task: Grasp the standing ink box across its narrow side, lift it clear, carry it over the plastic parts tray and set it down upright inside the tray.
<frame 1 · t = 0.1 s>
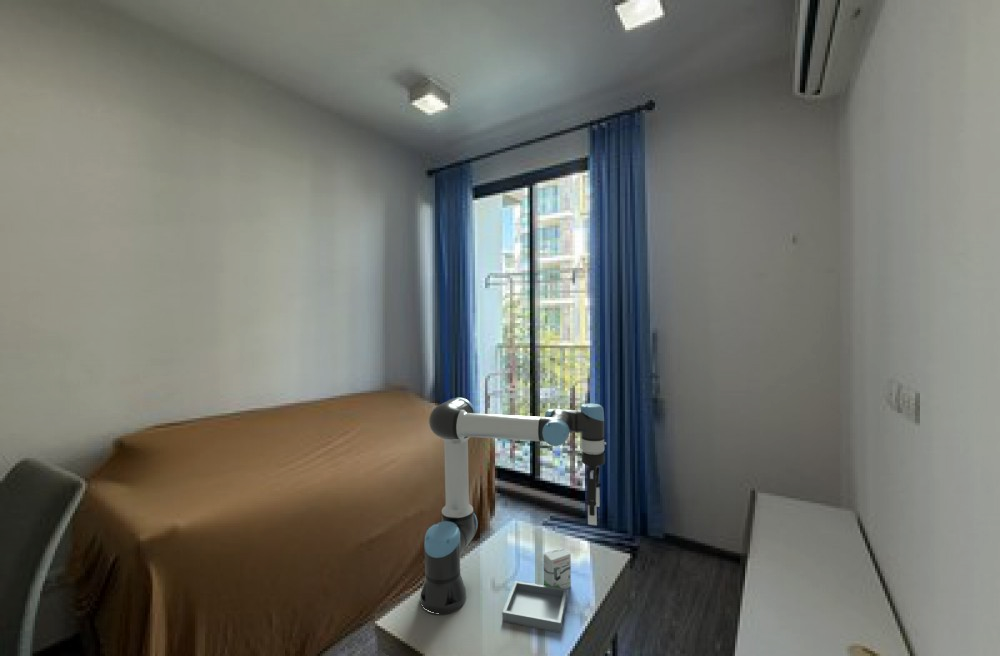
hand: (594, 514, 135), 28 cm above the table, fingers open, 13 cm apart
ink box: (557, 587, 142), on the table
parts tray: (536, 609, 131), on the table
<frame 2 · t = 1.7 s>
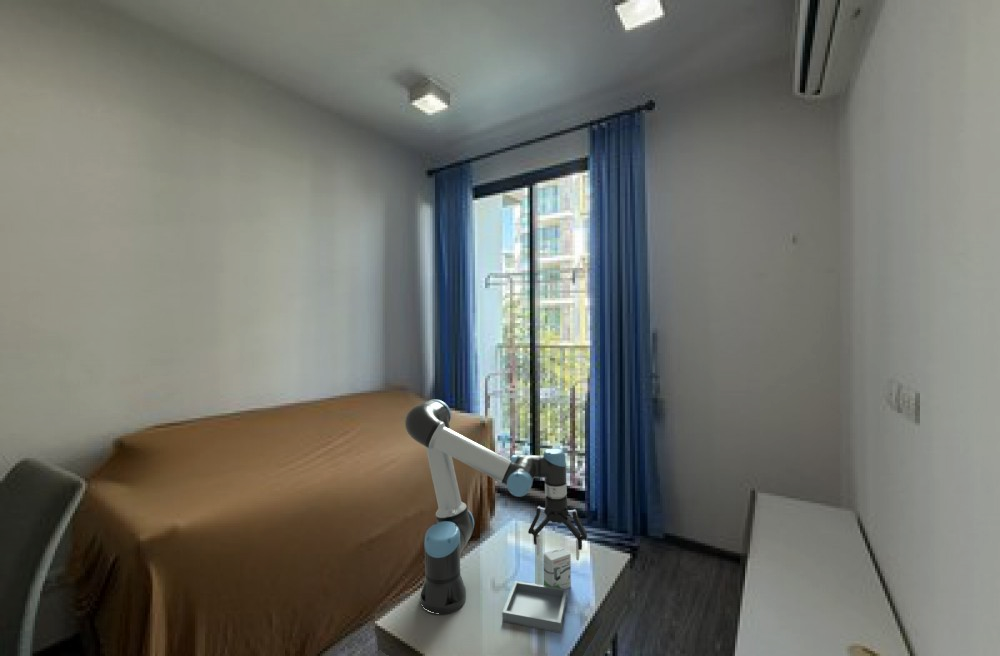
hand: (558, 555, 142), 11 cm above the table, fingers open, 13 cm apart
nothing on the table moved.
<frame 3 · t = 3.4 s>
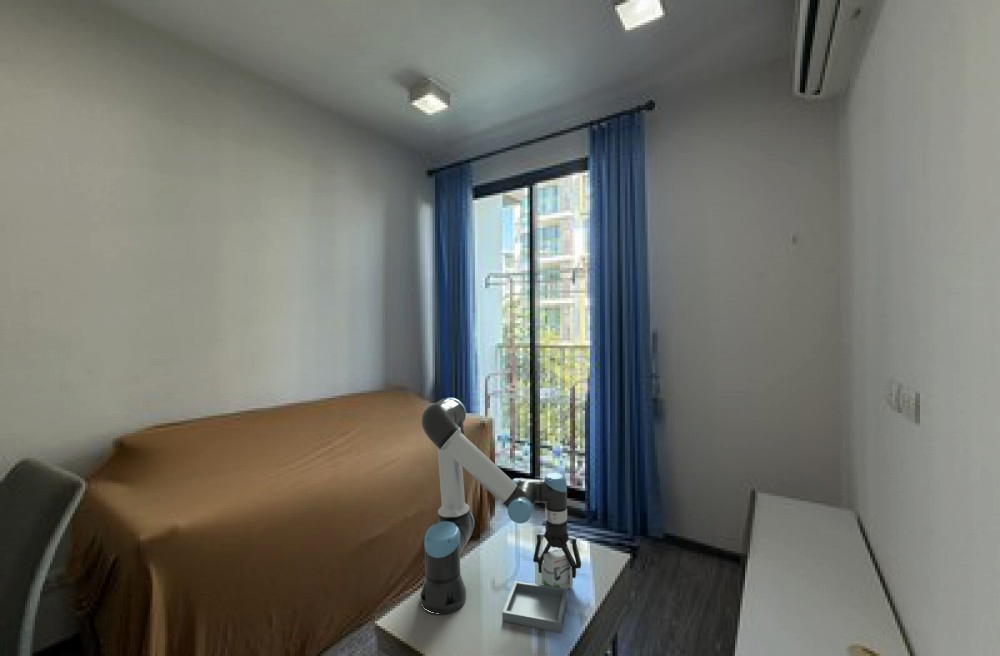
hand: (557, 583, 142), 1 cm above the table, fingers closed on ink box, 9 cm apart
ink box: (557, 587, 142), on the table, touching gripper
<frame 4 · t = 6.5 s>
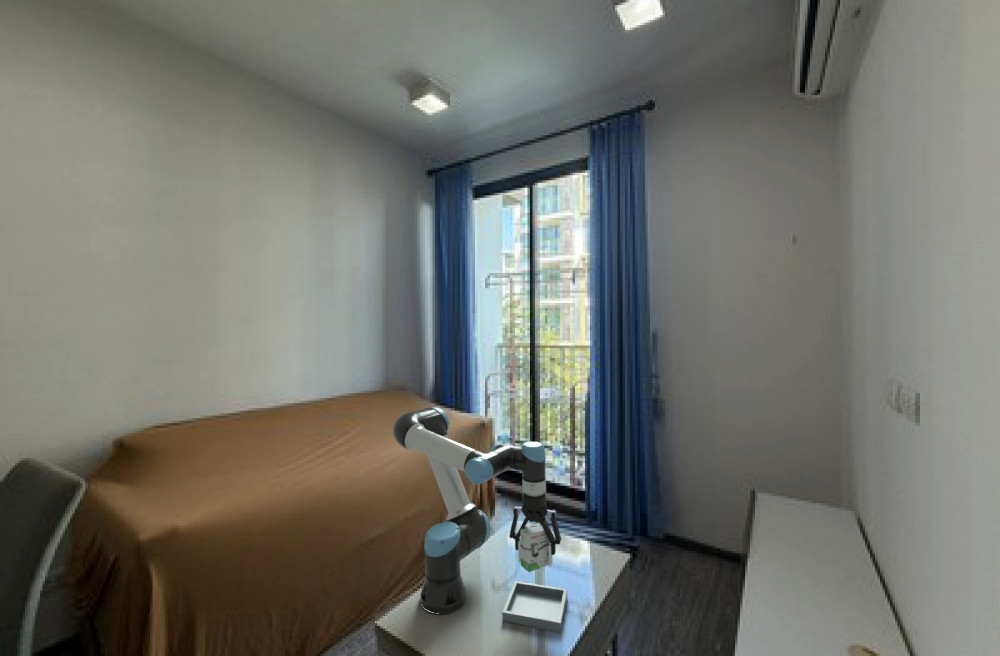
hand: (535, 561, 131), 15 cm above the table, fingers closed on ink box, 9 cm apart
ink box: (535, 565, 131), point 14 cm above the table, touching gripper
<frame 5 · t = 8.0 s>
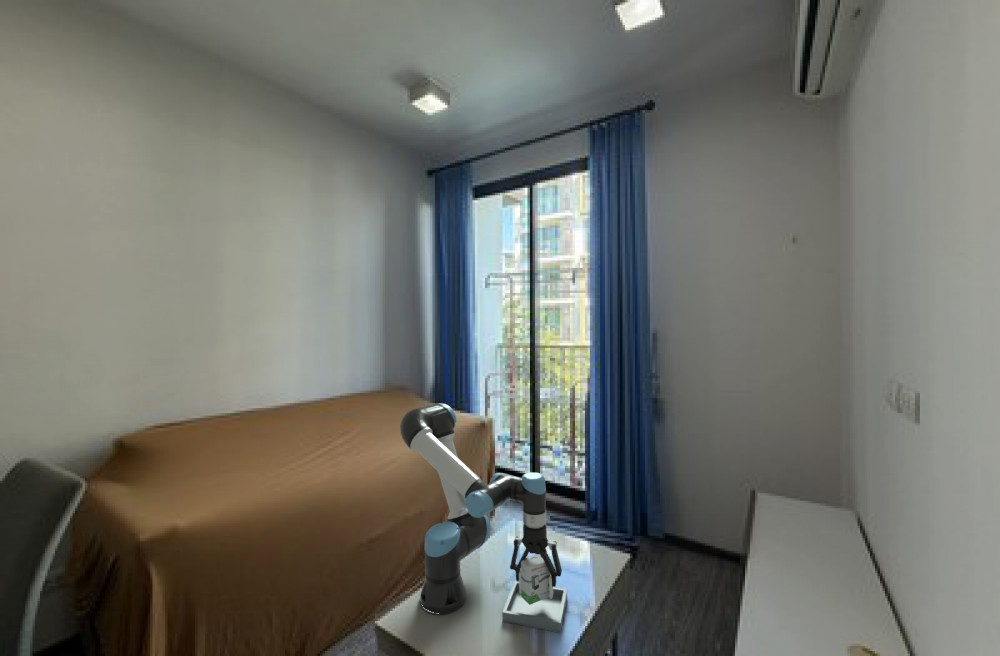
hand: (536, 593, 131), 5 cm above the table, fingers closed on ink box, 9 cm apart
ink box: (536, 597, 131), point 4 cm above the table, touching gripper
when the fingers open (3 cm above the table, at t = 9.5 s): ink box drops 1 cm, resting on parts tray.
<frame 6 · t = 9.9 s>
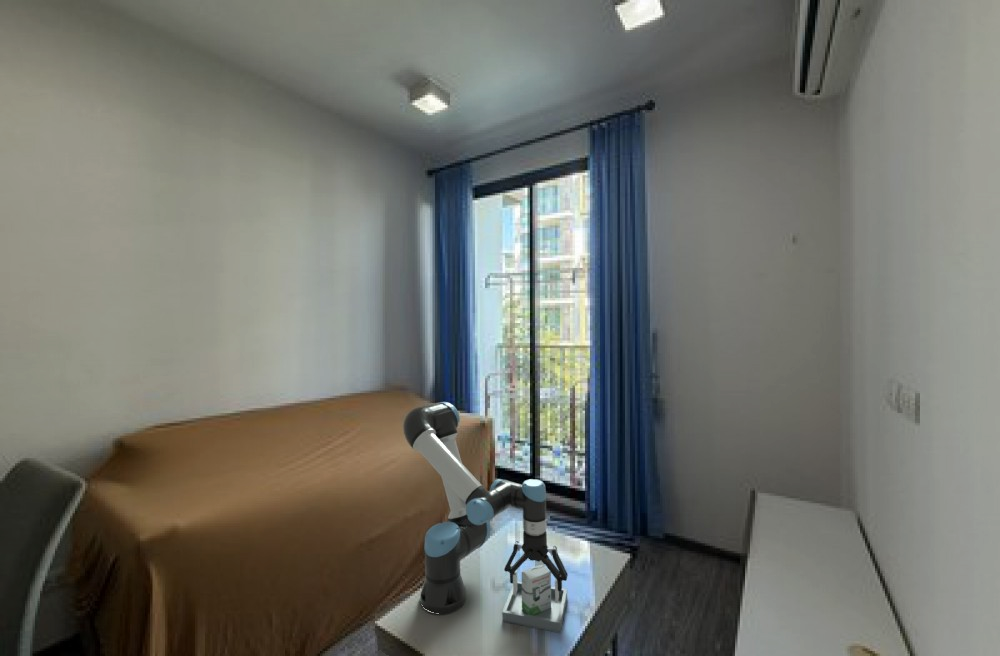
hand: (535, 596, 131), 4 cm above the table, fingers open, 13 cm apart
ink box: (536, 608, 131), resting on parts tray
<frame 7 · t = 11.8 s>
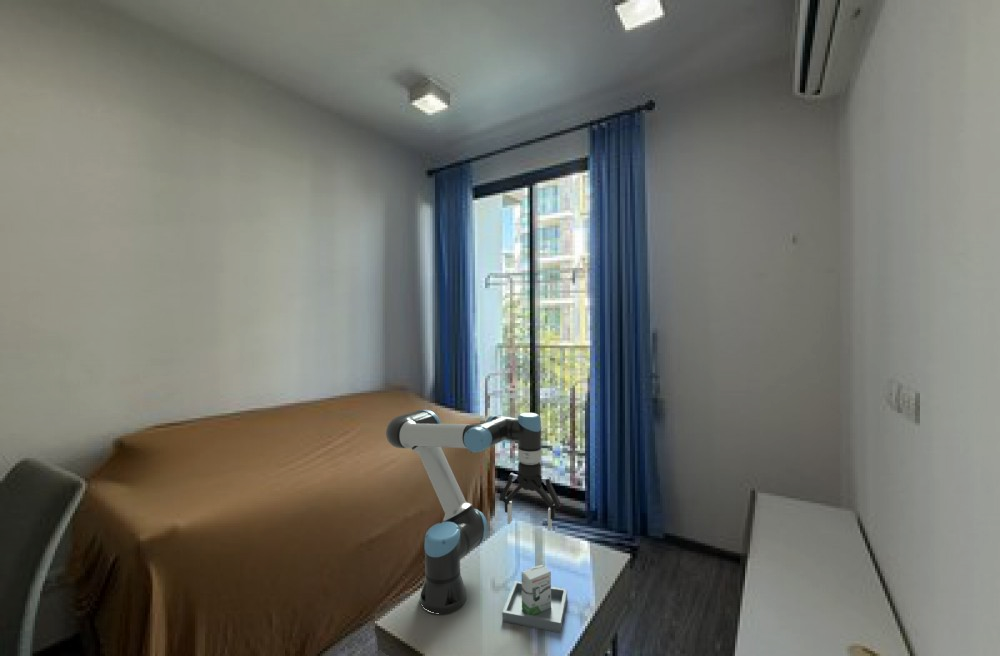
hand: (529, 525, 134), 25 cm above the table, fingers open, 13 cm apart
nothing on the table moved.
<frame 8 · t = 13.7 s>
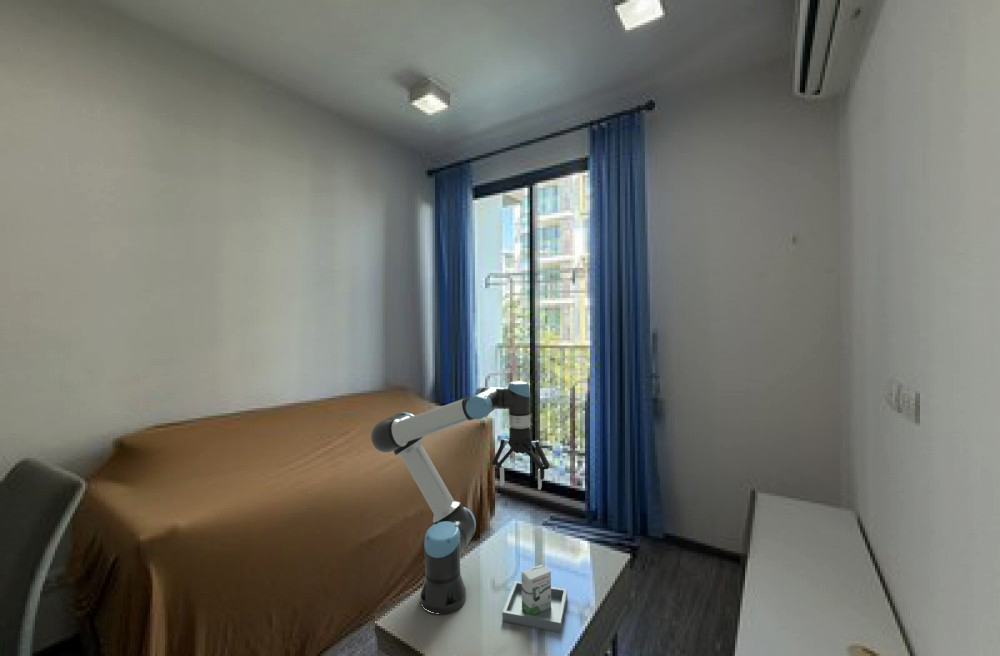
hand: (520, 486, 143), 35 cm above the table, fingers open, 13 cm apart
nothing on the table moved.
at the end: ink box inside the target area on the parts tray (0.2 cm from its centre), point 0.4 cm above the parts tray's base; ink box tilted 0°; the gripper is holding nothing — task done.
